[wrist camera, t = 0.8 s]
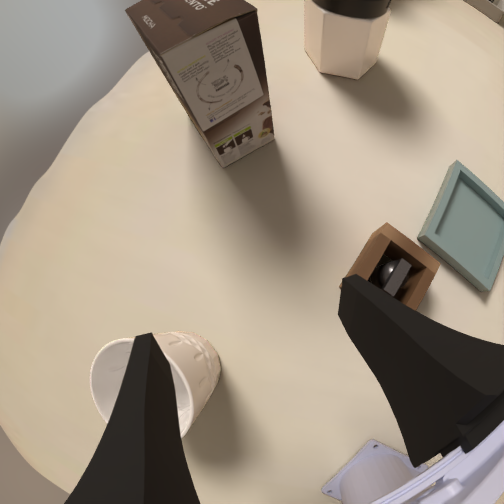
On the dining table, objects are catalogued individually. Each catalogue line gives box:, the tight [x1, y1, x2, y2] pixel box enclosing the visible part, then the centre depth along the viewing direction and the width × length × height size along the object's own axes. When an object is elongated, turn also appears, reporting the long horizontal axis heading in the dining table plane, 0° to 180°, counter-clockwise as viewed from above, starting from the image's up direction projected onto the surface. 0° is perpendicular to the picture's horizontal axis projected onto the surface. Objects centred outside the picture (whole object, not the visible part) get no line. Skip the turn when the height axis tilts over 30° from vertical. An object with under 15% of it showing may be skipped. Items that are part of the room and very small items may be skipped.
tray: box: [417, 160, 504, 292], centre depth 23 cm, size 10×10×2 cm
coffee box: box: [125, 0, 274, 168], centre depth 21 cm, size 9×6×16 cm
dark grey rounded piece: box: [370, 258, 412, 297], centre depth 22 cm, size 2×3×5 cm
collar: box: [339, 223, 441, 311], centre depth 23 cm, size 6×6×4 cm
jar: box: [304, 0, 391, 79], centre depth 23 cm, size 9×8×12 cm
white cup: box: [90, 331, 221, 439], centre depth 21 cm, size 8×8×10 cm
